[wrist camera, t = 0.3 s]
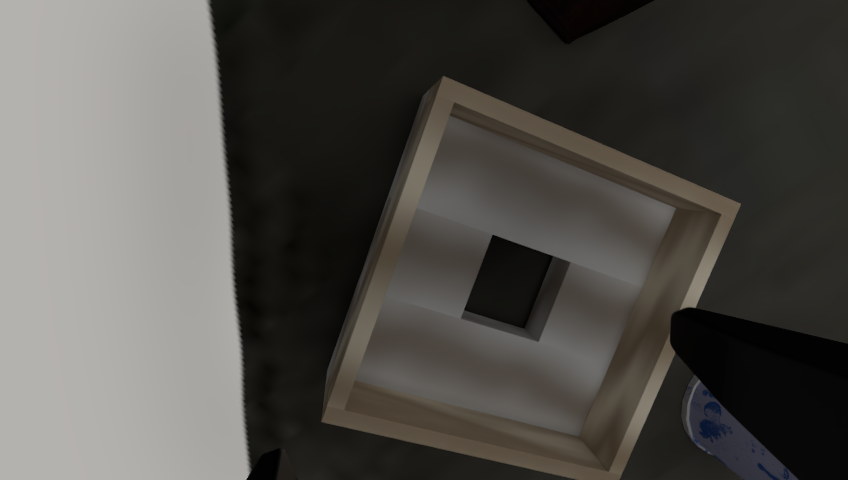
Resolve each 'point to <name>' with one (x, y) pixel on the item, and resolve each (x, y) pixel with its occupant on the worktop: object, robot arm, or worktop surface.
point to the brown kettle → (582, 14)
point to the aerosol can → (727, 437)
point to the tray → (555, 304)
